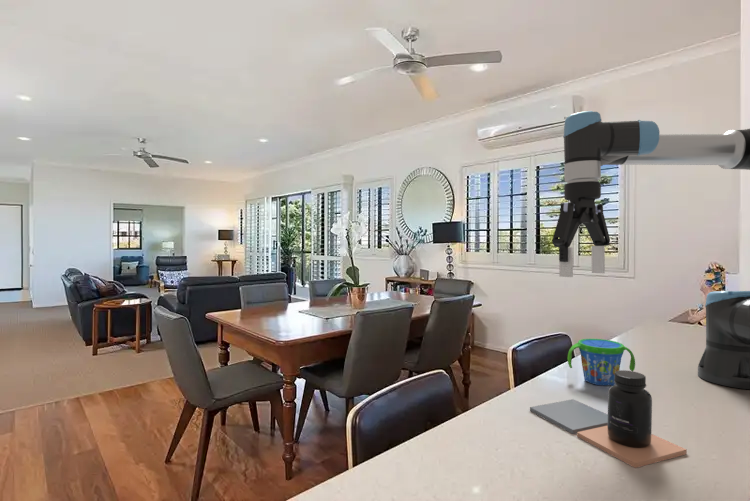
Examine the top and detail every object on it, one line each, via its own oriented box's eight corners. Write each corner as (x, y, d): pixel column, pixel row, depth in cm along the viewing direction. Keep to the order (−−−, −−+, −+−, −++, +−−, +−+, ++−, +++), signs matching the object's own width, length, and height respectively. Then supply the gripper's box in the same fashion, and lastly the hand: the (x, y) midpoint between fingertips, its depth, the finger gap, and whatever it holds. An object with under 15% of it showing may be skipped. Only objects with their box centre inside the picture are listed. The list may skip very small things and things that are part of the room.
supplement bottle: (610, 445, 75) (610, 377, 75) (605, 429, 81) (605, 366, 81) (656, 452, 72) (656, 381, 72) (647, 434, 79) (647, 370, 79)
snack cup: (629, 378, 113) (629, 339, 112) (641, 391, 103) (641, 349, 102) (565, 373, 117) (564, 336, 117) (570, 386, 107) (570, 346, 107)
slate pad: (573, 402, 97) (573, 399, 97) (619, 423, 85) (619, 419, 85) (530, 410, 93) (529, 407, 93) (573, 434, 81) (572, 429, 81)
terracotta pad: (624, 425, 84) (624, 421, 84) (686, 454, 73) (686, 449, 73) (577, 436, 80) (577, 432, 80) (635, 468, 69) (635, 463, 69)
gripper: (594, 187, 108) (594, 270, 108) (534, 180, 94) (535, 277, 94) (625, 183, 102) (626, 272, 102) (567, 176, 88) (567, 279, 88)
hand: (582, 275), depth 98 cm, fingers open, 13 cm apart
